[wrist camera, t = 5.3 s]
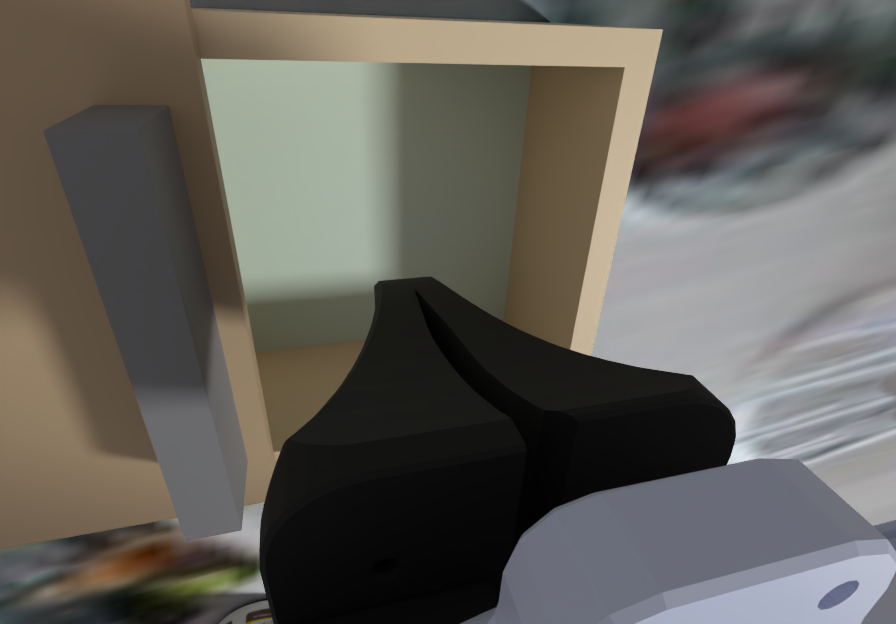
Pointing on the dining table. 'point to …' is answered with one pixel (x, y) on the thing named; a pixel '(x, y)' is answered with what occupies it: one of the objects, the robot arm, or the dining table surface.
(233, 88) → the box
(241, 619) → the supplement bottle
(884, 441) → the dining table surface
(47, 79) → the lid
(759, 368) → the dining table surface
